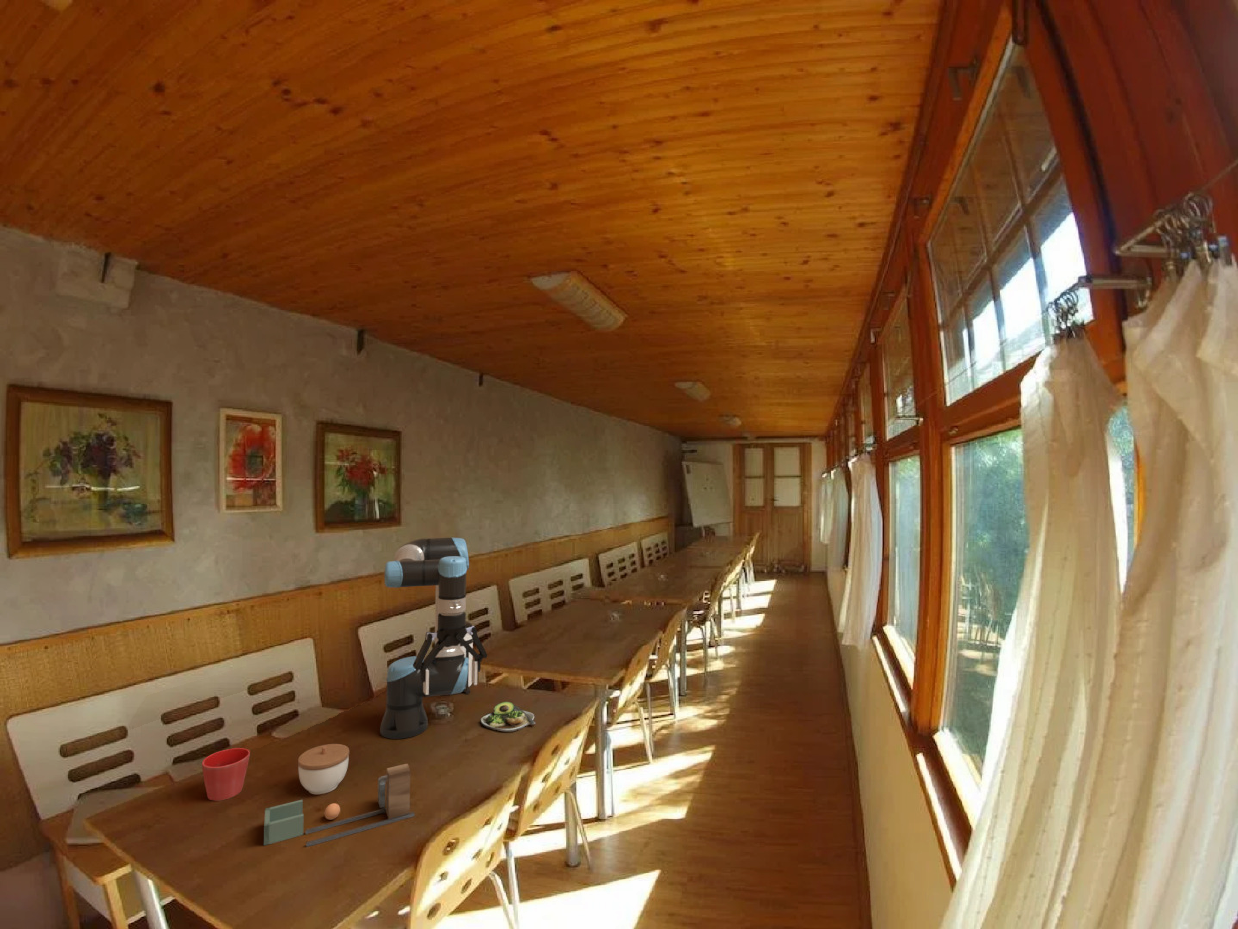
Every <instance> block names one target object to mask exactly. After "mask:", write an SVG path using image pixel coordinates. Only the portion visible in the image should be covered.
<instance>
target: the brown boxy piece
mask: <svg viewBox="0 0 1238 929" xmlns="http://www.w3.org/2000/svg"><path fill="white" fill-rule="evenodd" d="M377 784H378V785H377V803H378V805H379V808H380V809H383V808H386V812H385V813H386V816H387V819H390V818H394V817H397V816H401V815H404V814H408V813H411V812H410V811H411V810H410V809H411V808H410V807H411V768H410V766H409V764H408V763H404V764H400V765H395V766H391V767H387V768H386V774H385V775H382V776H379V778H378V781H377Z"/></svg>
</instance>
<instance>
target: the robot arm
mask: <svg viewBox="0 0 1238 929" xmlns="http://www.w3.org/2000/svg"><path fill="white" fill-rule="evenodd" d="M468 552H469V551H468V545H467V542H466V540H465V539H464V538H463V537H439V538H438V537H437V538H419V539H413V540H411V541H409V542H406V543H404V544H402V545H401V546H400V547H398V549H397V551H396V552H395V553H394V560H392V561H387V562H386V563H385V565H384V586H386V587H387V588H395V589H397V588H398V589H399V588H405V587H406V588H409V587H429V586H430V587H431V586H434V587H435V601H434V602H435V609H434V610H435V611H434V615H435V616H434V619H435V620H434V621H435V622H434V623H435V624H434V626H435V627H434V632H431V631H426V632H425V637H424V642H423V643H422V645H421V648H420V649H419V651H418V654H417V655H413V656H406V657H403V658H400V659H398V660H395V661H394V662H392V663H391V664H389V666H388V667H387V671H386V672H387V674H386V678H385V681H386V704H385V705H386V707H385V708H386V709H385V712H384V715H383V717H382V721H381V723H380V726H379V727H380V728H379V729H380V730H379V732H380V733H379V734H380V735H381V736H382V737H383V738H386V739H393V740H399V739H402V740H403V739H407V738H412V737H415V736H418V735H421V734H422V733H424V732H425V731H426V730H427V729H428V725H429V724H428V722H429V721H428V716H427V713H426V710H425V706H424V704H423V703H424V702H423V701H424V698H426V697H435V696H446V695H454V694H461V693H462V692H464V691H463V690H464V689H465V686H466V681H467V675H468V664H469V659H468V658H467V657H465V658H464V652H463V651H462V650H461V648H460V643H461V644H462V645H463V646H464V647H465V648H466V649H467V650H468V652H469V653H470V654H471V655H472V656H473V660H472V680H471V682H472V685H474V686H477V685H478V673H480V672H481V663H482V661H483V659H485V658H487V657H488V654H487V652H486V650H485V647H484V646H483V644H482V641H481V640H480V638H479V635H478V630H477V627H475V625H473V626H470V627H469V628H466V627H465V625H466V621H467V618H466V615H467V614H466V612H465V611H466V610H467V609H466V606H467V605H466V604H467V593H466V592H467V590H466V589H467V571H468V570H469V569H470V560H469V559H470V558H469V553H468ZM467 633H468V634H469V635H471V637H472V639H473V644H475V647H476V648H477V650H478V652H479V653H477V652H476V651H475V650H474V648H473V649H472V647H471V646H470V645H469V644H468V643H467V642H466V641H465V640H464V639H463V638H464V637H465V635H466V634H467ZM433 641H434V646H433V647H432V649H431V650H430V651H429V649H430V647H431V645H432V642H433ZM428 651H429V653H428Z"/></svg>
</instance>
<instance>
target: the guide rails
mask: <svg viewBox="0 0 1238 929" xmlns="http://www.w3.org/2000/svg"><path fill="white" fill-rule="evenodd" d="M385 813H386V807H383V808H380V809H377V810H374V811H369V812H366V813H362V814H358V815H355V816H350V817H347V818H343V819H340V820H336V821H333V822H329V823H325V824H321V825H318V826H315V827H314V826H313V827H311V828H307V829H305V835H309V834H311V833H317V832H319V831H323V830H327V829H330V828H331V829H332V828H334V827H338V826H341V825H345V824H348V823H351V822H352V823H353V822H356V821H359V820H363V819H366V818H371V817H374V816H378V815H382V814H385ZM413 817H415V811H412V812H410V813H408V814H404V815H401V816H397V817H394V818H390V819H388V818H387V819H383V820H380V821H377V822H373V823H369V824H366V825H363V826H359V827H358V826H357V827H355V828H352V829H348V830H344V831H342V832H341V831H340V832H337V833H335V834H334V833H333V834H330V835H327V836H322V837H320V838H319V837H318V838H317V839H313V840H309V841H306V845H305V847H307V848H308V847H311V846H315V845H319V844H322V843H326V842H328V841H333V840H335V839H339V838H342V837H346V836H349V835H354V834H357V833H360V832H363V831H367V830H371V829H374V828H378V827H381V826H382V827H383V826H384V825H389V824H392V823H395V822H399V821H403V820H405V819H409V818H413Z"/></svg>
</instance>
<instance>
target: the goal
mask: <svg viewBox="0 0 1238 929" xmlns="http://www.w3.org/2000/svg"><path fill="white" fill-rule="evenodd" d="M303 800H304V799H299V800H295V801H292V802H287V803H283V804H280V805H275V806H271V807H266V808H265V809H264V821H263V822H264V825H263V826H264V827H263V847H264V846H267V845H270V844H272V845H273V844H275V843H279V842H282V841H286V840H289V839H293V838H297V837H300V836H304V816H305V815H304V813H303V810H304V809H303V806H304V805H303V804H304V803H303V802H304V801H303Z"/></svg>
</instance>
